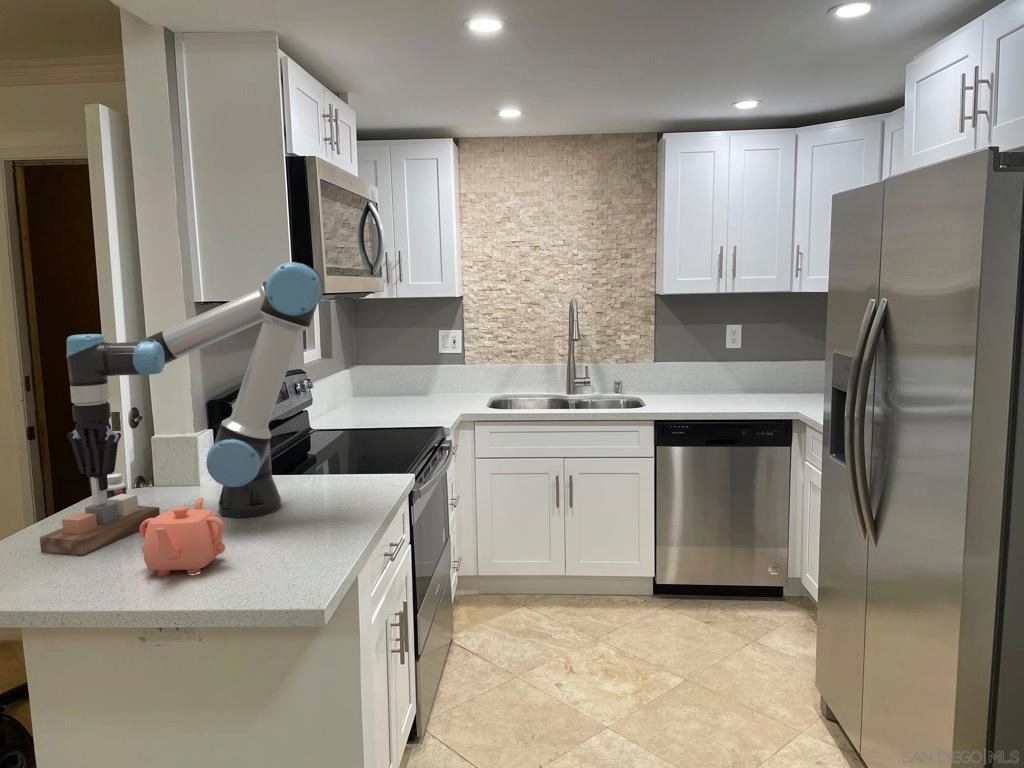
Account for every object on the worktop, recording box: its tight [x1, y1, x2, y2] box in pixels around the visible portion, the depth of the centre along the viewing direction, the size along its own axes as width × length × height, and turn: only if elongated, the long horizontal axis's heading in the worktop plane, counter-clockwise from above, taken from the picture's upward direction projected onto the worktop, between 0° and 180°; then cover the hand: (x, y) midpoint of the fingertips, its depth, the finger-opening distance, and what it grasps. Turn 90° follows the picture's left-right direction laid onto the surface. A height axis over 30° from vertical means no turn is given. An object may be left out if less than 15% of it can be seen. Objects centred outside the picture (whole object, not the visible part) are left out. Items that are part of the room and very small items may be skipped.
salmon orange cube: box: [61, 512, 97, 535], centre depth 168 cm, size 5×5×5 cm
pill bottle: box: [106, 473, 127, 499], centre depth 193 cm, size 5×5×10 cm
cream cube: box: [107, 493, 139, 517], centre depth 181 cm, size 5×5×5 cm
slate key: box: [84, 502, 119, 526], centre depth 175 cm, size 5×5×5 cm
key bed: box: [39, 505, 161, 557], centre depth 175 cm, size 11×24×4 cm, turn 166°
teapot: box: [139, 497, 226, 577], centre depth 154 cm, size 15×17×13 cm
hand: (100, 503), depth 174 cm, fingers closed
